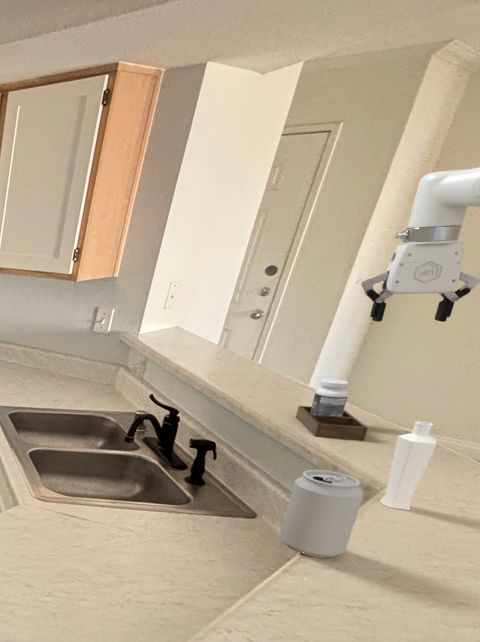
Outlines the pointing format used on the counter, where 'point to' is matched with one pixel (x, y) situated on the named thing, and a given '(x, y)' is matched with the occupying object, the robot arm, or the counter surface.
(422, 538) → the counter surface
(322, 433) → the brown wooden tray
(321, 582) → the counter surface
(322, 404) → the pill bottle
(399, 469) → the perfume bottle
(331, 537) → the can
